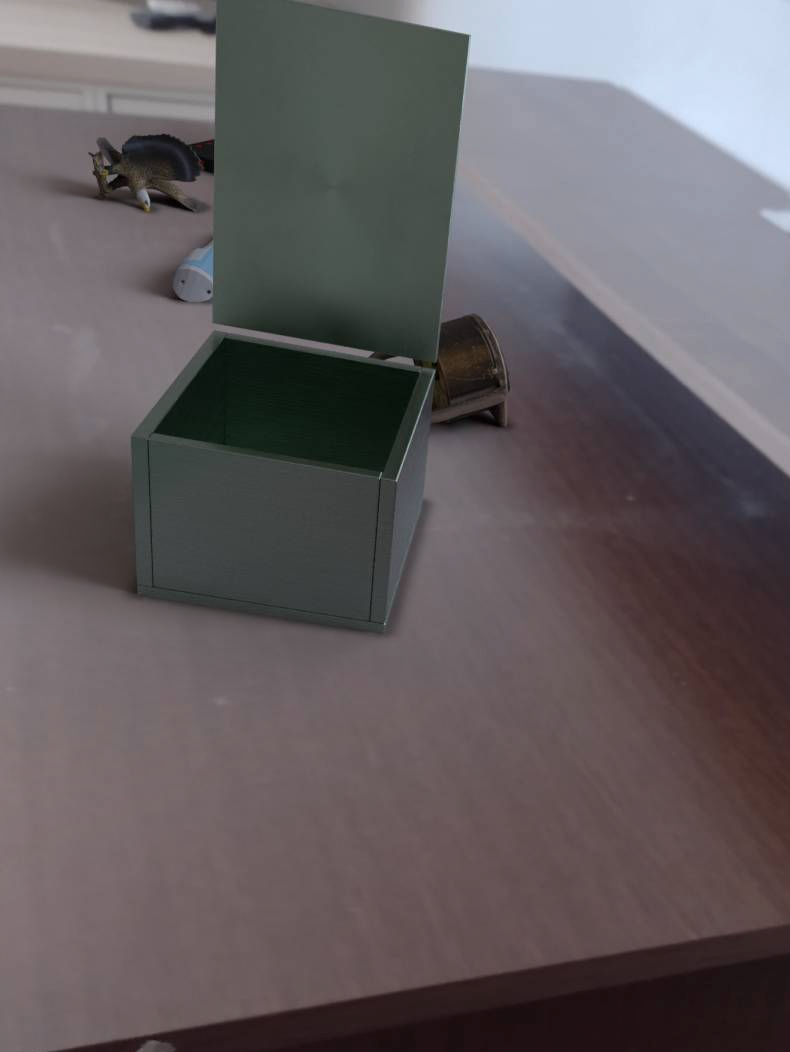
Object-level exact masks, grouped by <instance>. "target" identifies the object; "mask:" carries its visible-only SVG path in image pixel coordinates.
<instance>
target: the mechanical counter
mask: <svg viewBox="0 0 790 1052" xmlns="http://www.w3.org/2000/svg"><path fill="white" fill-rule="evenodd" d="M398 357H399V356H394V355H388V354H383V353H377V352H372V353H371V354H370V355H369V356H368V358H374V359H380V360H385V361H387V360H389V359H393V358H398ZM412 362H413V365H414V366H419V367H421V368H423V367H424V368H429V369H434V370H435V381H434V391H433V401H432V411H431V422H430V425H433V424H438V423H441V422H442V423H443V424H449V423H452V422H455V421H458V420H462V419H464V418H468V417H470V416H473V415H474V416H475V415H477V414H481V413H483V412H487V411H489V413H490V414H491V416H492V417H493V419H494V420H495V422H496V423H497V424H498V425H499V426H500V427H504V428H505V427H506V426H507V425H508V397H509V393H510V390H511V383H510V382H511V381H510V378H509V375H510V372H509V369H508V365H507V362H506V360H505V356H504V353H503V351H502V347H501V345H500V343H499V341H498V338H497V336H496V334H495V332H494V330H493V329H492V327H491V326H490V324H489V322H488V321H486V320H485V319H484V318H483V317H482V316H481V315H479V314H477V313H470V314H464V315H463V316H461V317H457V318H455V319H451V320H447V321H443V322H441V329H440V338H439V348H438V357H437V361H436V363H433V362H428V361H422V360H416V359H412Z"/></svg>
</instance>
